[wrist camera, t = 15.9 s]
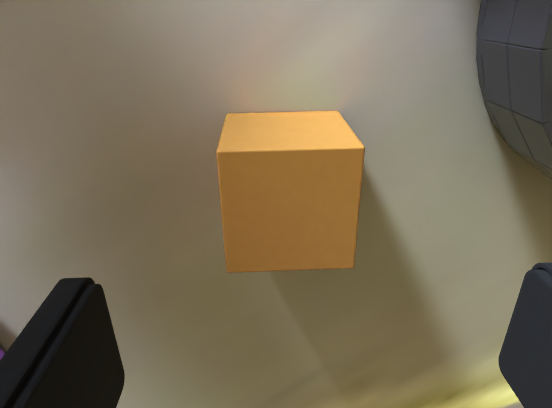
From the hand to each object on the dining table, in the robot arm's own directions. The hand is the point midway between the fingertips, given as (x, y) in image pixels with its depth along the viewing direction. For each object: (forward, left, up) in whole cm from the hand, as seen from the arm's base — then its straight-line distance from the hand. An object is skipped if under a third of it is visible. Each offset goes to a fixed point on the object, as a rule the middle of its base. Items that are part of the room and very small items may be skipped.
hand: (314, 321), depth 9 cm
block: (0, 0, -9) cm, 9 cm away
